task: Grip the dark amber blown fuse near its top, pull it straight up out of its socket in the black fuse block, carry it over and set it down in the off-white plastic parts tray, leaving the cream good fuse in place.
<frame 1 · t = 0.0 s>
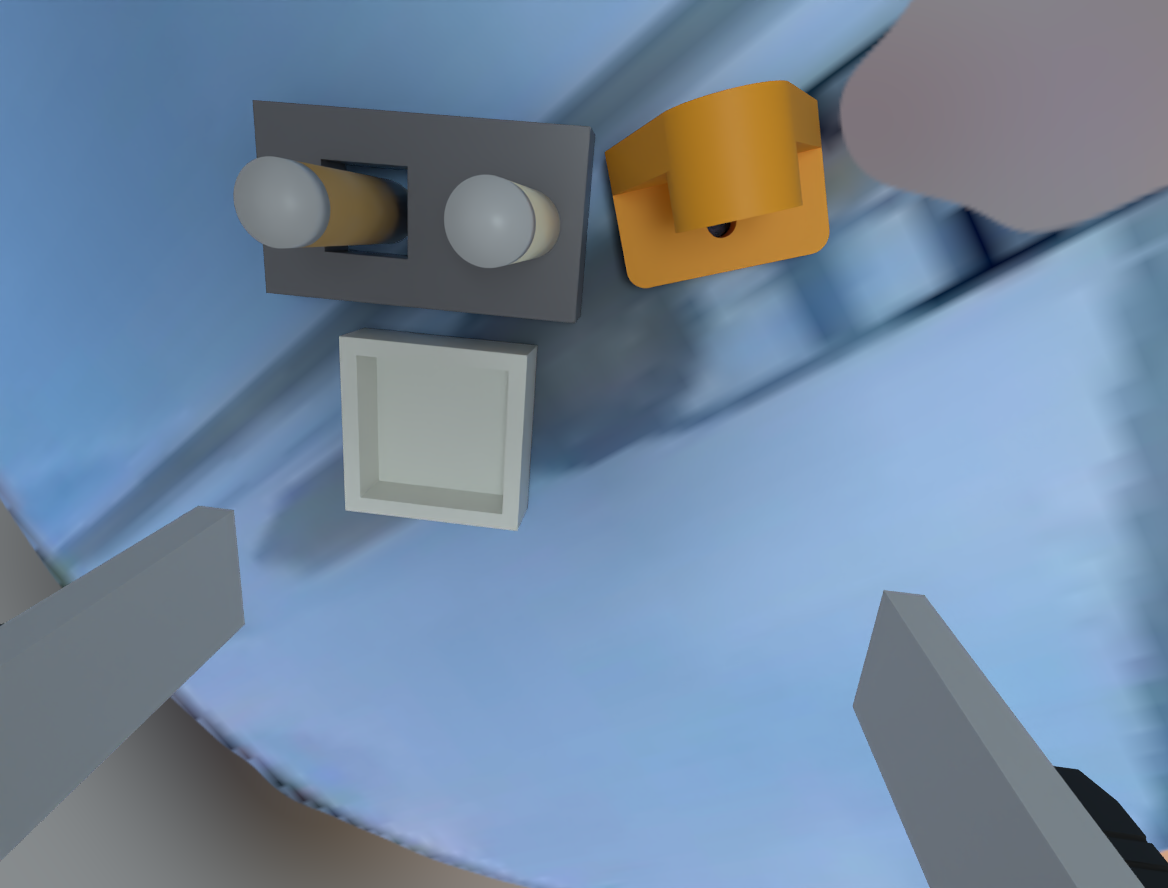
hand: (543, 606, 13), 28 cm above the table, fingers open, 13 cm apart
fuse block: (435, 216, 38), on the table
blown fuse: (386, 211, 38), resting in fuse block
bracket: (713, 203, 37), on the table
parts tray: (448, 420, 42), on the table
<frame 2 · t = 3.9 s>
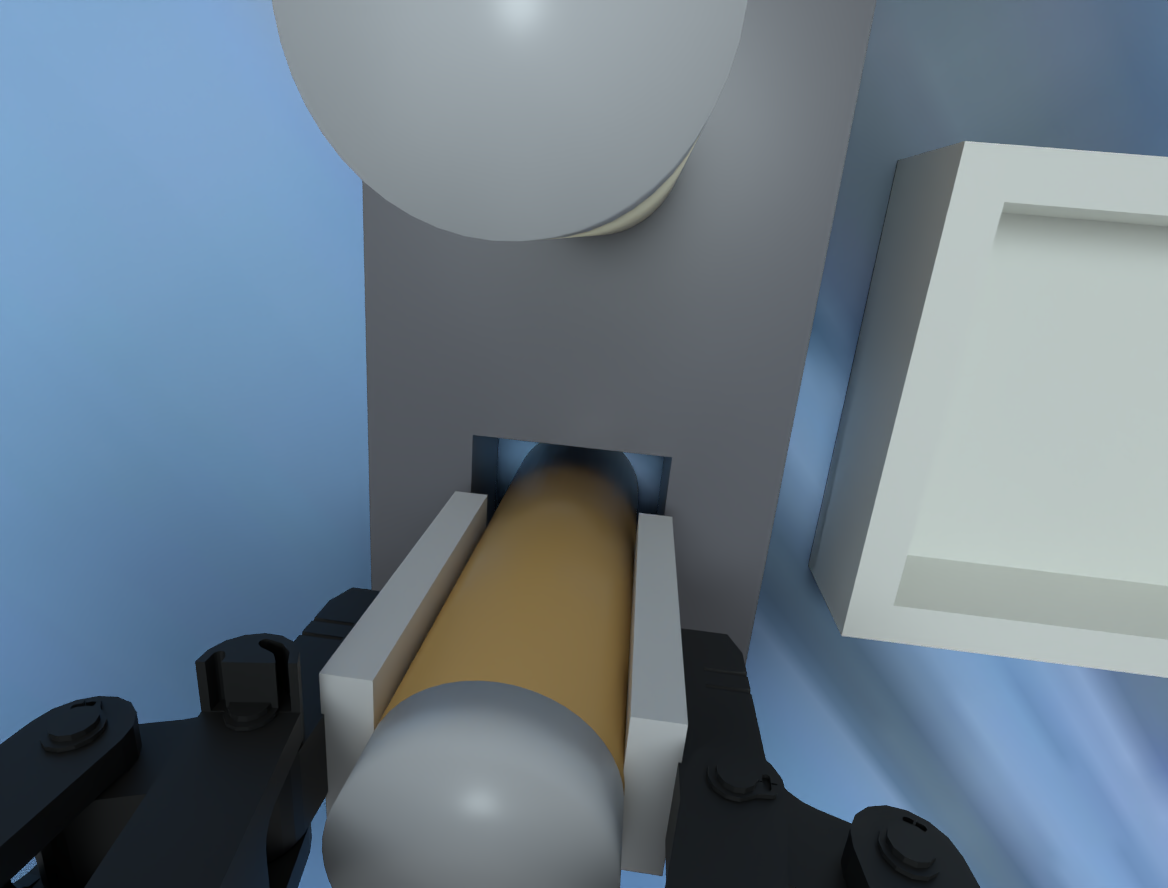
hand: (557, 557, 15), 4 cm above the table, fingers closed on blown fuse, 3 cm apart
fuse block: (585, 392, 18), on the table
blown fuse: (576, 490, 19), resting in fuse block, touching gripper
parts tray: (1062, 405, 17), on the table
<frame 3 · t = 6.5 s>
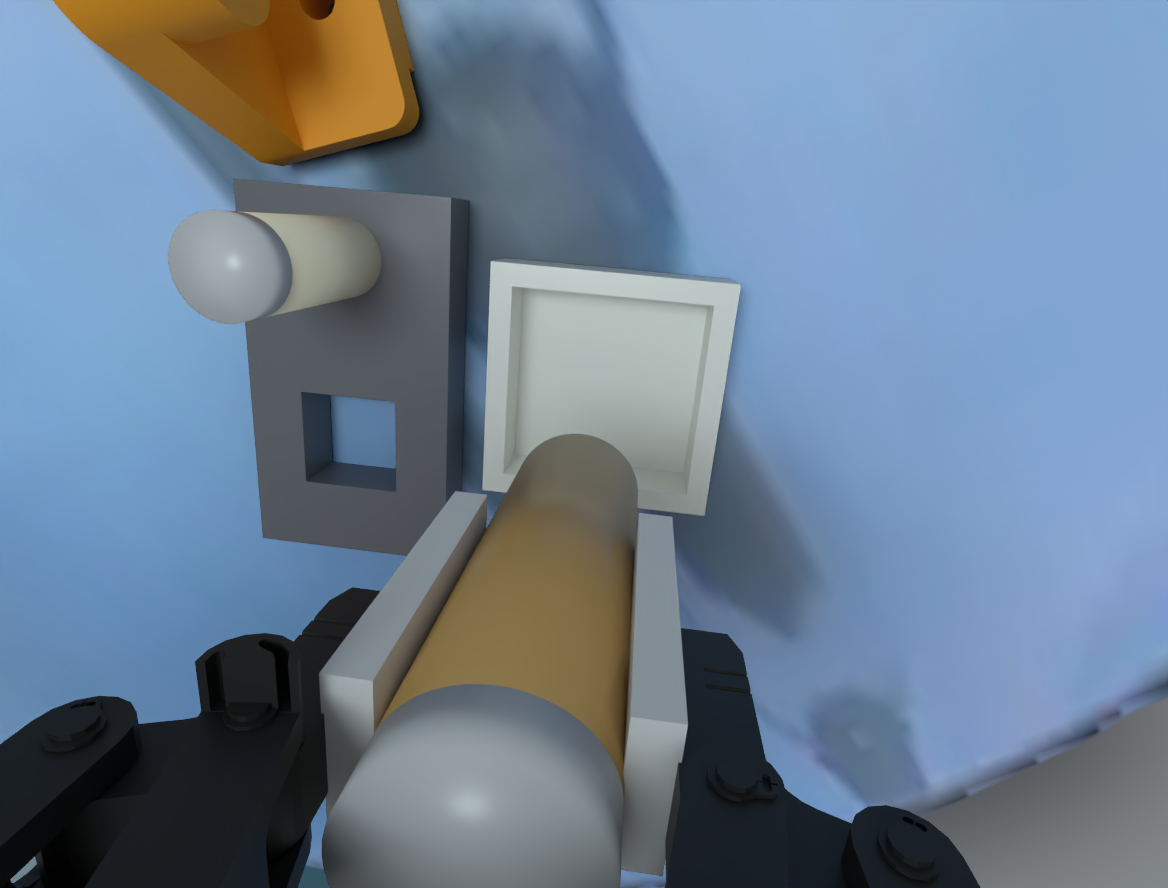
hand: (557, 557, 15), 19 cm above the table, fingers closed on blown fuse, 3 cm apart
fuse block: (372, 372, 34), on the table
blown fuse: (576, 492, 19), point 15 cm above the table, touching gripper
bracket: (325, 26, 30), on the table
parts tray: (607, 378, 33), on the table
when the fingers open (6 cm above the table, at t = 9.1 s): blown fuse drops 1 cm, resting on parts tray.
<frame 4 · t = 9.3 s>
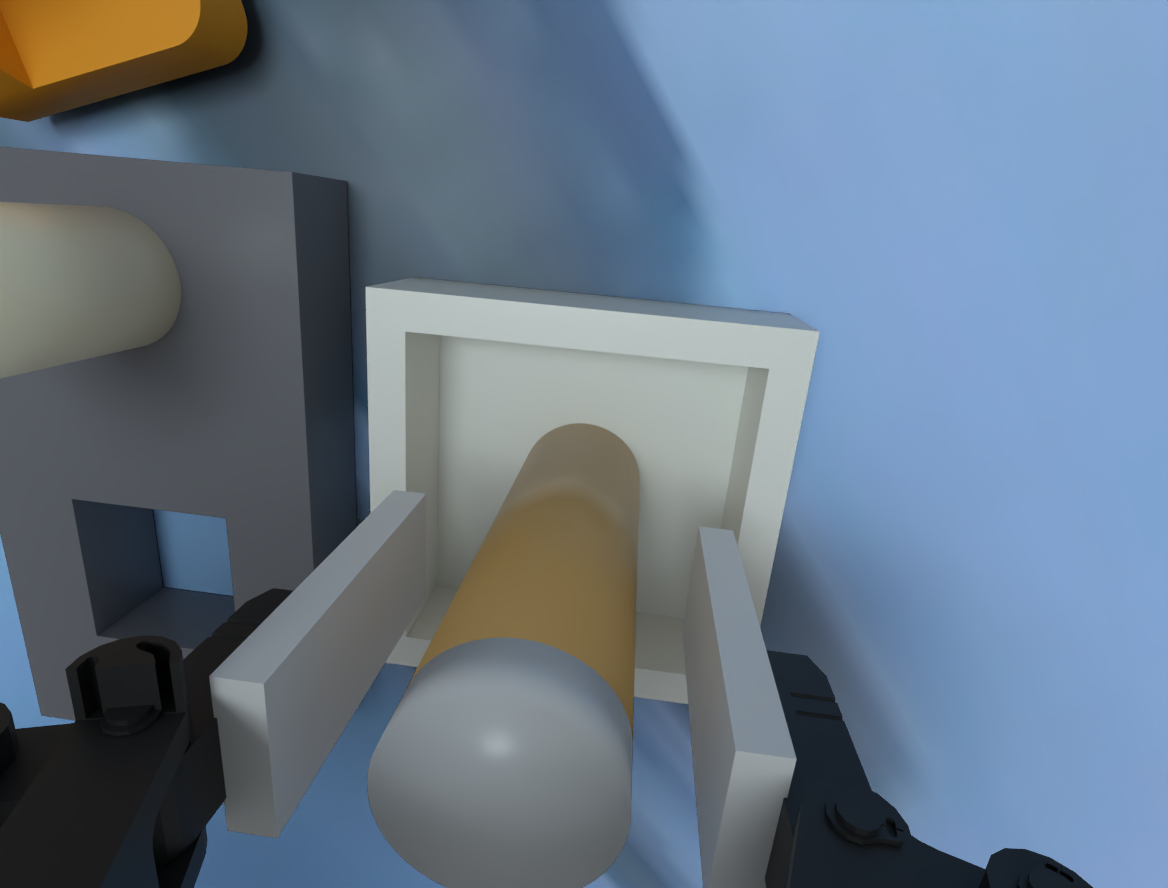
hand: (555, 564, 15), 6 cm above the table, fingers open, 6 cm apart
fuse block: (211, 456, 22), on the table
blown fuse: (581, 478, 20), point 1 cm above the table, touching parts tray
parts tray: (582, 470, 21), on the table
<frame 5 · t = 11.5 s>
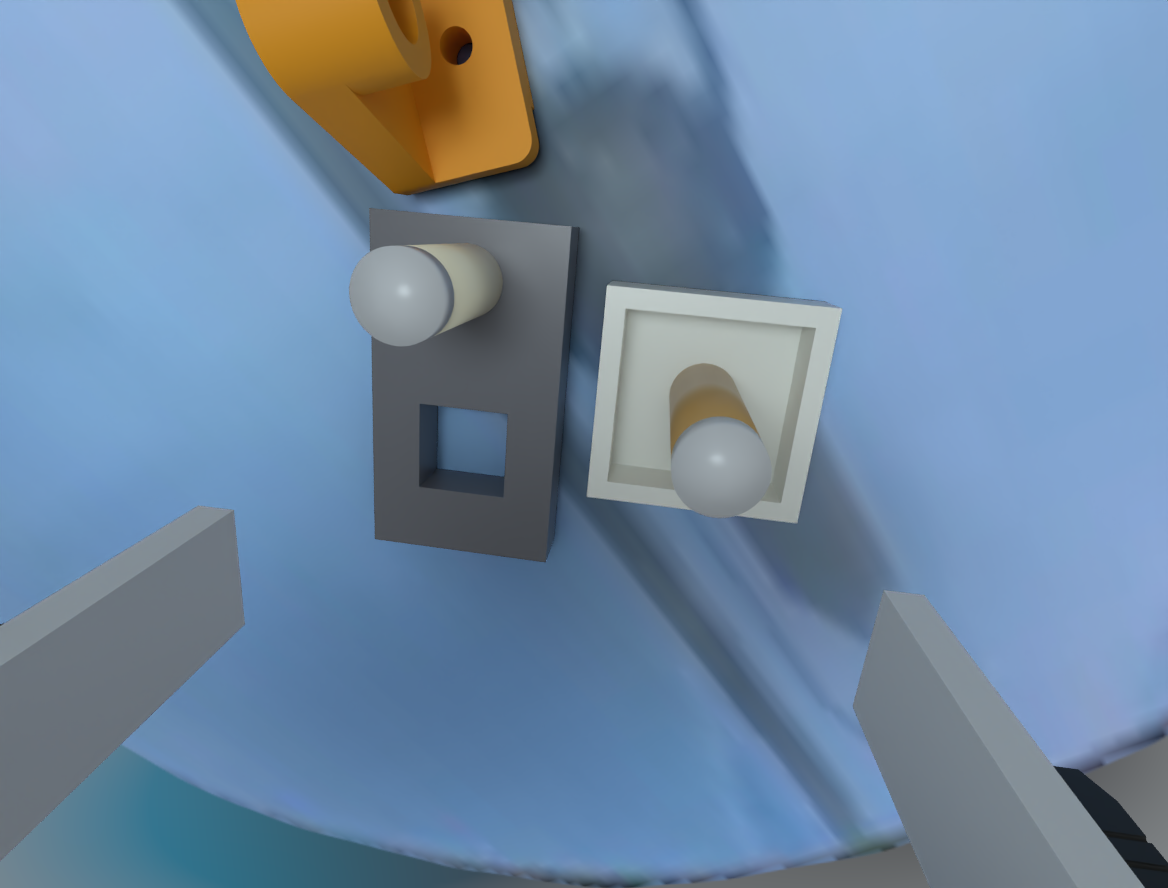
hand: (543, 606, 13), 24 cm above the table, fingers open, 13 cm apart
fuse block: (479, 385, 37), on the table
blown fuse: (702, 396, 35), point 1 cm above the table, touching parts tray
bracket: (453, 67, 32), on the table
parts tray: (701, 392, 36), on the table
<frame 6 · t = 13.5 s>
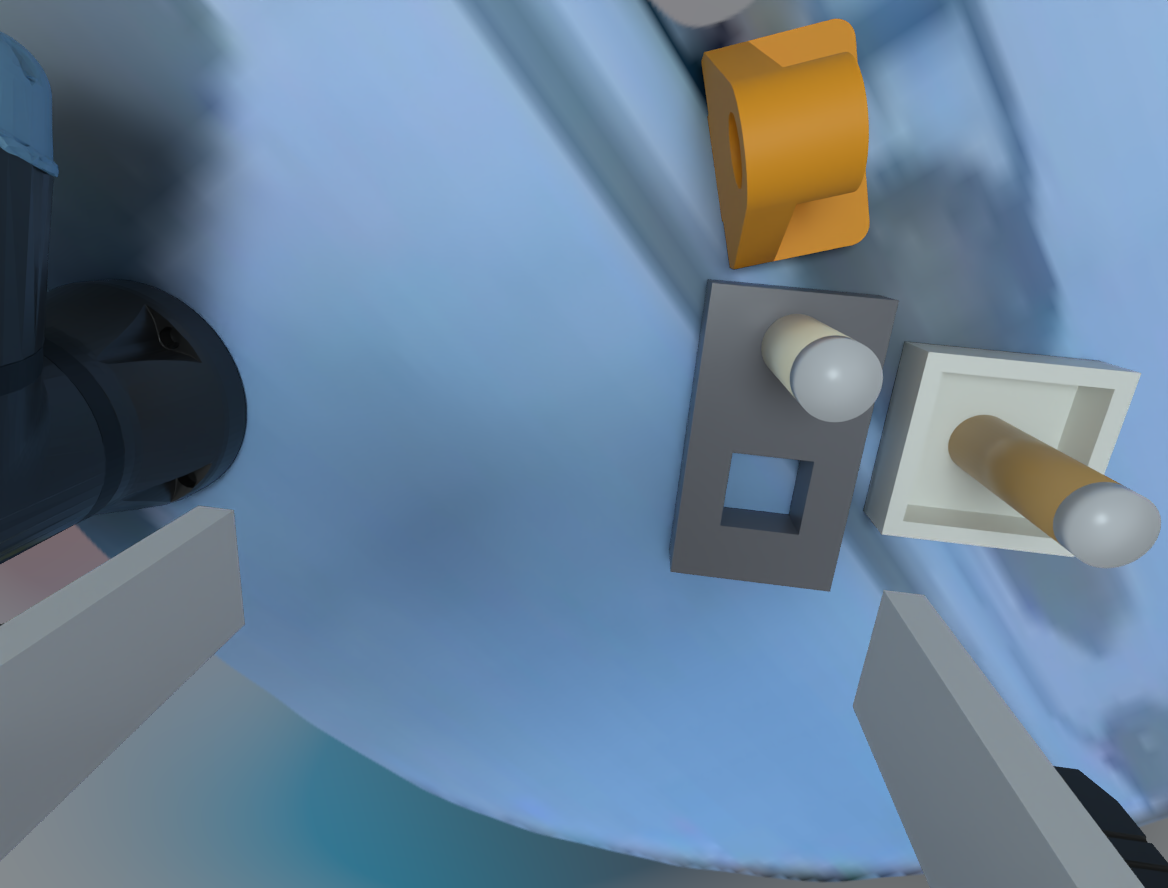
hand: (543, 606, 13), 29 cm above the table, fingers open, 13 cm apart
fuse block: (766, 432, 41), on the table
blown fuse: (979, 443, 39), point 1 cm above the table, touching parts tray
bracket: (779, 155, 36), on the table
parts tray: (974, 439, 40), on the table
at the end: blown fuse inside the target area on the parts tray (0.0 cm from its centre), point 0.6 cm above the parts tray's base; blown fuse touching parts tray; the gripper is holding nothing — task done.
